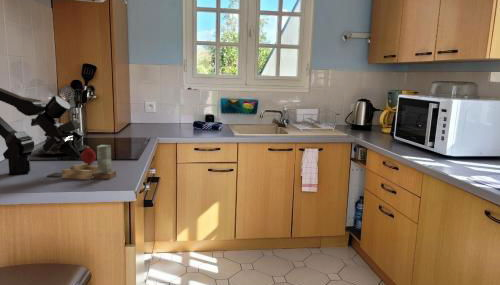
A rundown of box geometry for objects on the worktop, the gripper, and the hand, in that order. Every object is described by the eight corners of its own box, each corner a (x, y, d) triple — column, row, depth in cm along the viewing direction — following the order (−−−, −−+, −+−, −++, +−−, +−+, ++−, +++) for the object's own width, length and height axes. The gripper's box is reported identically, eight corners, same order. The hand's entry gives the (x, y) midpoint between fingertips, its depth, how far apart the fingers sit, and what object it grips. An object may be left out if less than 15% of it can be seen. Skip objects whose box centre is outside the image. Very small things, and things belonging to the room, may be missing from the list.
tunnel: (62, 177, 142) (61, 167, 141) (74, 172, 150) (74, 162, 149) (90, 179, 141) (90, 168, 140) (101, 174, 149) (101, 164, 148)
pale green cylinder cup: (93, 178, 143) (92, 146, 141) (99, 175, 147) (98, 144, 145) (110, 179, 142) (109, 147, 140) (116, 176, 147) (115, 145, 145)
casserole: (57, 159, 175) (56, 140, 174) (28, 155, 182) (27, 137, 181) (98, 150, 198) (97, 134, 197) (71, 147, 205) (70, 131, 204)
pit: (46, 176, 143) (46, 175, 143) (54, 173, 148) (54, 172, 148) (59, 177, 143) (59, 176, 143) (67, 174, 148) (67, 172, 148)
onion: (91, 162, 169) (91, 144, 167) (98, 164, 165) (98, 146, 164) (79, 164, 164) (78, 146, 163) (85, 167, 160) (84, 148, 159)
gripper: (49, 114, 133) (80, 147, 134) (78, 110, 151) (105, 139, 152) (29, 135, 135) (60, 168, 136) (60, 129, 153) (87, 158, 154)
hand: (80, 157), depth 144 cm, fingers closed
